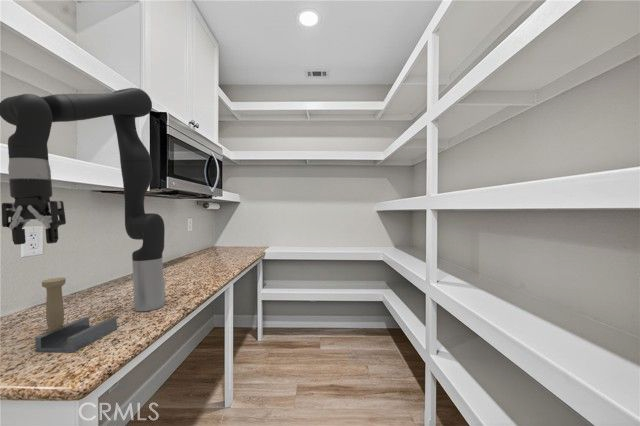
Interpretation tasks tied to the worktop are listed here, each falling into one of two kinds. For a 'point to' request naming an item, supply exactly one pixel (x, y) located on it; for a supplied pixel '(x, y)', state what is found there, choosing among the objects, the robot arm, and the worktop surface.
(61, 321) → the handle
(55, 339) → the floor track
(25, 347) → the worktop surface
